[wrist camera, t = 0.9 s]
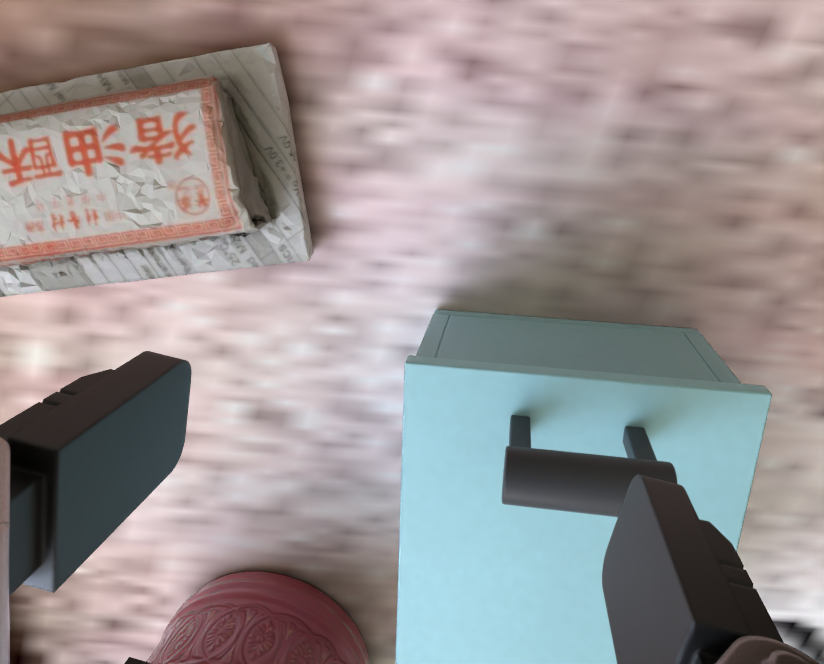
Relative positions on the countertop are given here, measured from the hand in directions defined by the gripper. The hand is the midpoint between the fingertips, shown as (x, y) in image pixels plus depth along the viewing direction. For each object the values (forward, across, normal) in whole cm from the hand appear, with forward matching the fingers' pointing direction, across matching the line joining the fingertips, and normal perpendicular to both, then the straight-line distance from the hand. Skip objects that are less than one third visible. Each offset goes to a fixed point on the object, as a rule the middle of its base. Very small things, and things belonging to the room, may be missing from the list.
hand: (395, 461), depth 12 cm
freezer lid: (+13, -6, +10) cm, 17 cm away
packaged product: (+22, +17, 0) cm, 28 cm away
